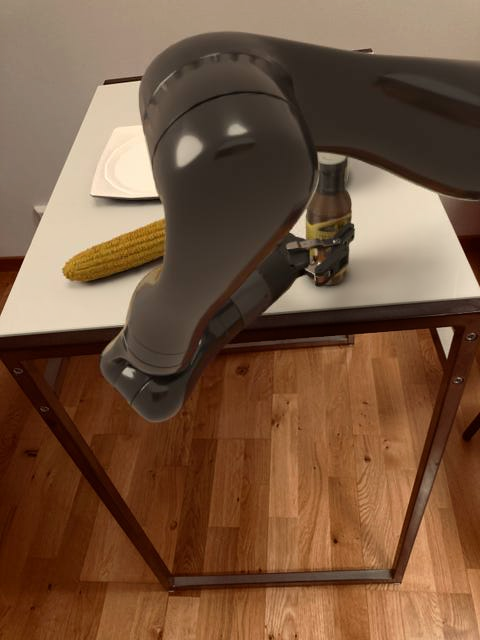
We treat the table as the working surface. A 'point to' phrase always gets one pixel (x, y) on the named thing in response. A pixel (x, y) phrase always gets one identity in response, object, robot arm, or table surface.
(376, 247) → the table surface
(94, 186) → the plate
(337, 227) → the sauce bottle
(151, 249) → the food
